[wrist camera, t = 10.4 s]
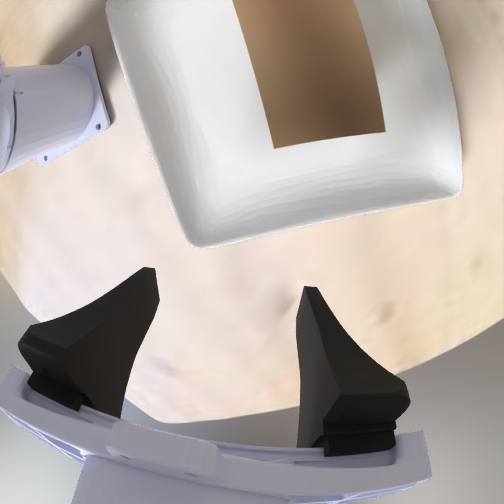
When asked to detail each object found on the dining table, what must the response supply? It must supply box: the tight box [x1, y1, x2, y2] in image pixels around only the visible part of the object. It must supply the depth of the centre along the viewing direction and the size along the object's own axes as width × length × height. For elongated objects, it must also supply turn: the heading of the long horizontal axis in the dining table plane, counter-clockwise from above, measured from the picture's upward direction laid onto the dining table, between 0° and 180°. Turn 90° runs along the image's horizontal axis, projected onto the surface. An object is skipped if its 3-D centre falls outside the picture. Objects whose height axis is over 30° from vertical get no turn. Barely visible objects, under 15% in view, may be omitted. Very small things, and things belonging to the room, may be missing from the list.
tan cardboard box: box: [232, 0, 386, 149], centre depth 10 cm, size 4×8×6 cm, turn 14°
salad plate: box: [105, 0, 463, 249], centre depth 14 cm, size 21×21×3 cm
